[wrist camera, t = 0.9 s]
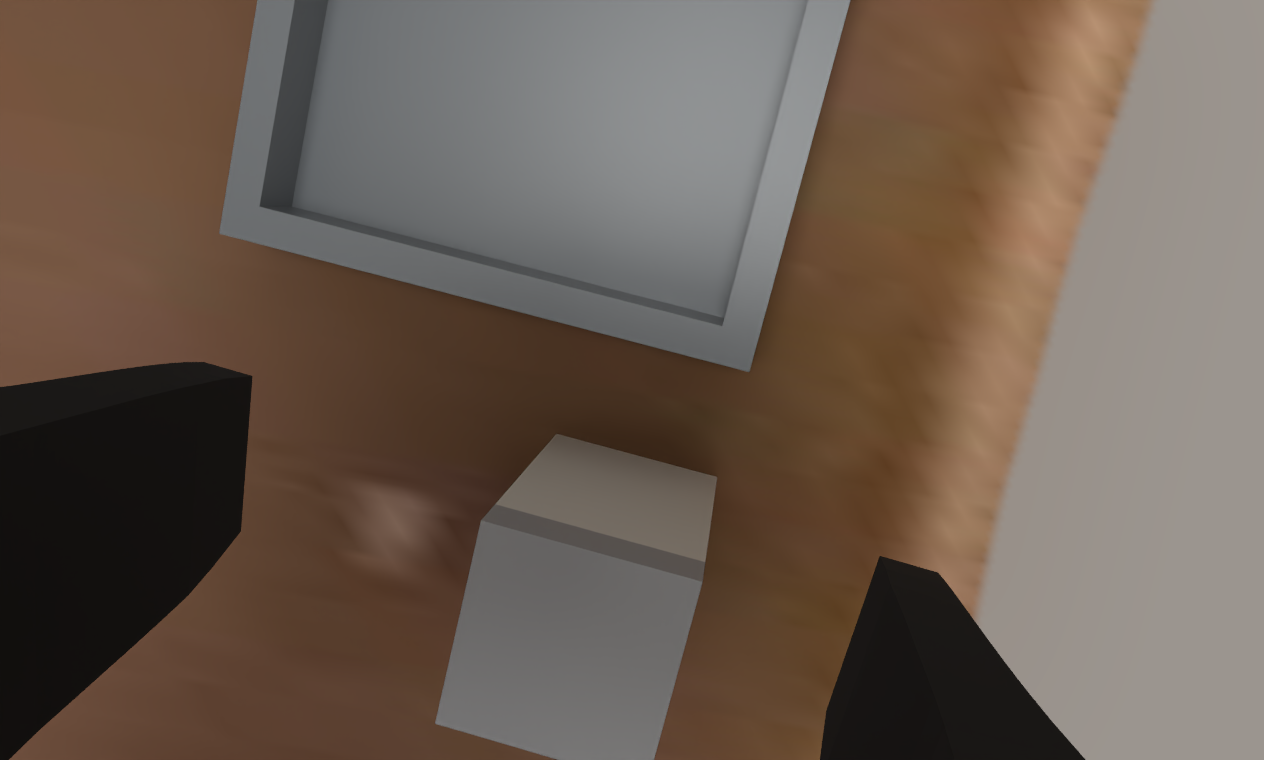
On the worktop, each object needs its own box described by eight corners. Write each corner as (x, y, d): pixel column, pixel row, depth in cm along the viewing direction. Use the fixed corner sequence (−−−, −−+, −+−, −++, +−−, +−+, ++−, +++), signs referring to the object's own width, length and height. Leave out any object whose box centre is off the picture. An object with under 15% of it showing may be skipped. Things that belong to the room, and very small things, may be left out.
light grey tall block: (676, 628, 25) (646, 785, 19) (520, 585, 26) (435, 723, 19) (717, 476, 25) (702, 581, 18) (556, 433, 25) (481, 520, 18)
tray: (749, 357, 24) (749, 371, 22) (265, 231, 25) (218, 233, 23) (897, -189, 22) (913, -232, 20) (358, -307, 23) (316, -361, 20)
